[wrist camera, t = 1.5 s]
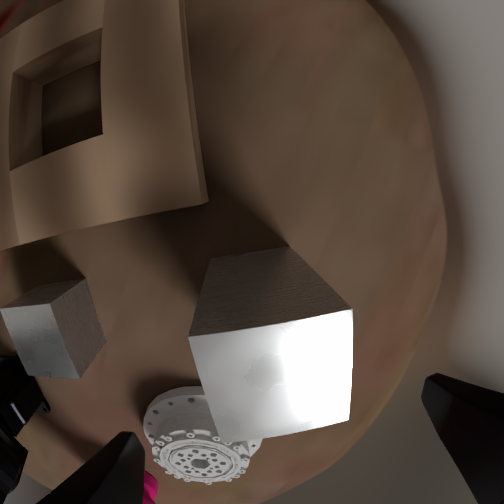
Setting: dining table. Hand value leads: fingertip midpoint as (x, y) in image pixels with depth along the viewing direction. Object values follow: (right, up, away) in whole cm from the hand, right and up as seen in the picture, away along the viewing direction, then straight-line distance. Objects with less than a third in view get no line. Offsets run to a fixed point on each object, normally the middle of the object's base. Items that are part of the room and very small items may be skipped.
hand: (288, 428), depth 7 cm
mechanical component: (-5, -10, +14) cm, 18 cm away
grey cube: (-15, 0, +11) cm, 18 cm away
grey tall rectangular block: (-1, +2, +12) cm, 12 cm away
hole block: (-13, +14, +8) cm, 21 cm away
